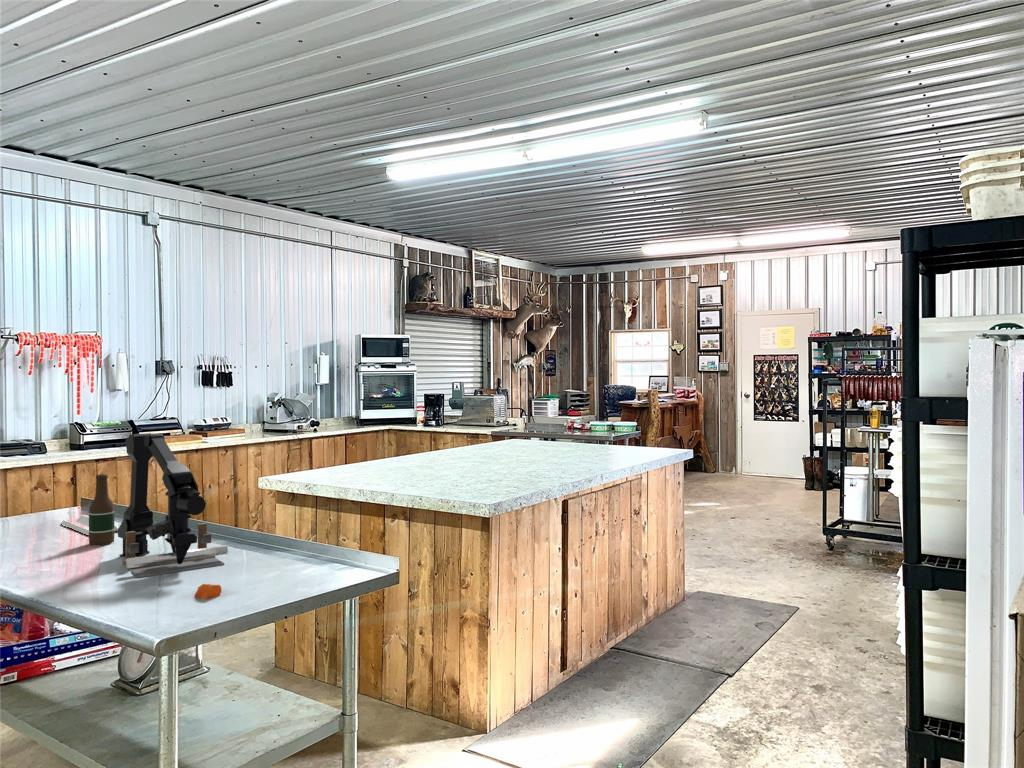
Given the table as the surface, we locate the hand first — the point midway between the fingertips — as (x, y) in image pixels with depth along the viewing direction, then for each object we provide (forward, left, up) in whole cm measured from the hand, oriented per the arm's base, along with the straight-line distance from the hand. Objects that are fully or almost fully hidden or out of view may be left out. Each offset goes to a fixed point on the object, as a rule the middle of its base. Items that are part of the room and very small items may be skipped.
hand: (178, 562), depth 216 cm
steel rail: (0, 0, +1) cm, 1 cm away
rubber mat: (0, 0, -2) cm, 2 cm away
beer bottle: (-46, +28, -2) cm, 54 cm away
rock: (+24, -25, -2) cm, 34 cm away
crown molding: (-68, +51, -2) cm, 85 cm away
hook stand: (-8, +8, -2) cm, 11 cm away
